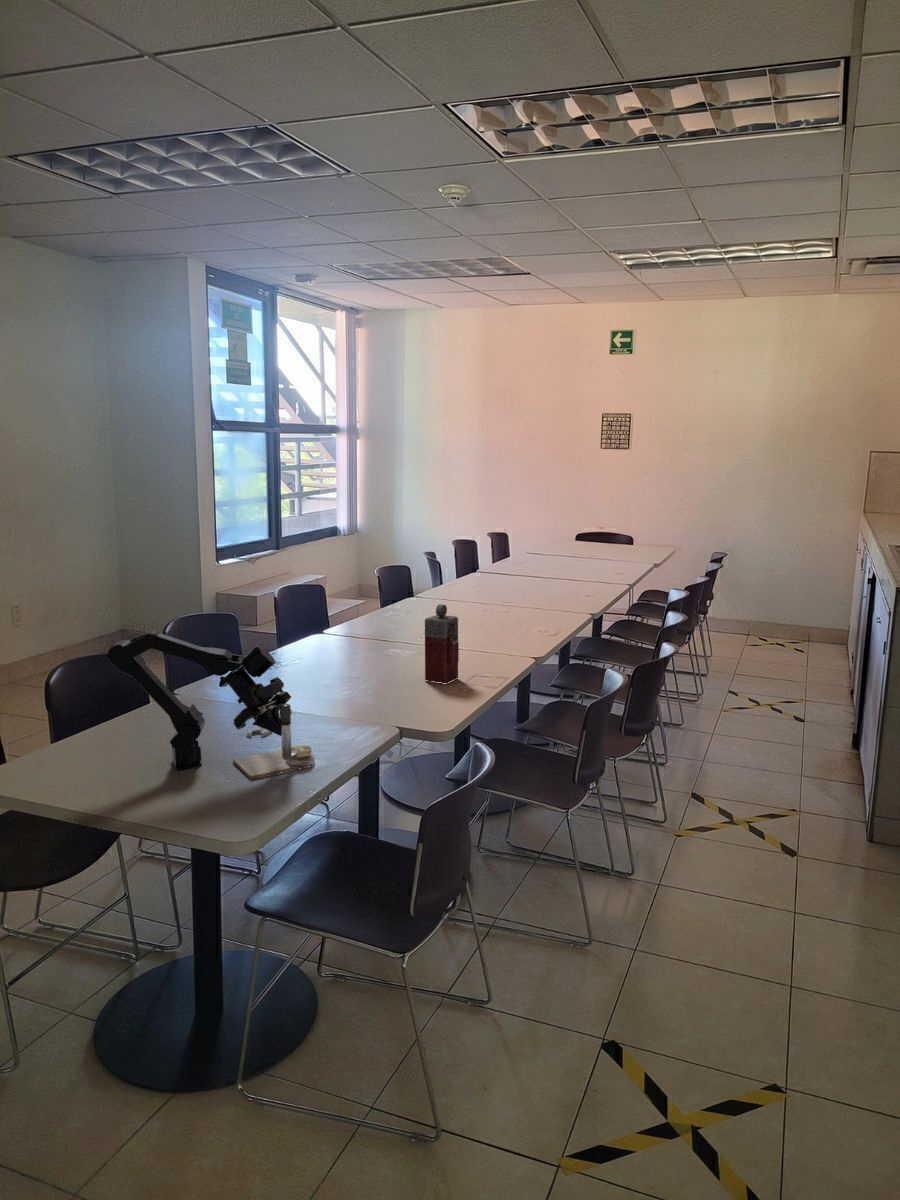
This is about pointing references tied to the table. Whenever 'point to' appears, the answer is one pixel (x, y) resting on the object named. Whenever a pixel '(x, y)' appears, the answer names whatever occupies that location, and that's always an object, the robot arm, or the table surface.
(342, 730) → the table surface
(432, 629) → the knobbed red-grey post
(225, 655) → the robot arm
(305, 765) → the brown wooden board
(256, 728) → the adjustable wrench
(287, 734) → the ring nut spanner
